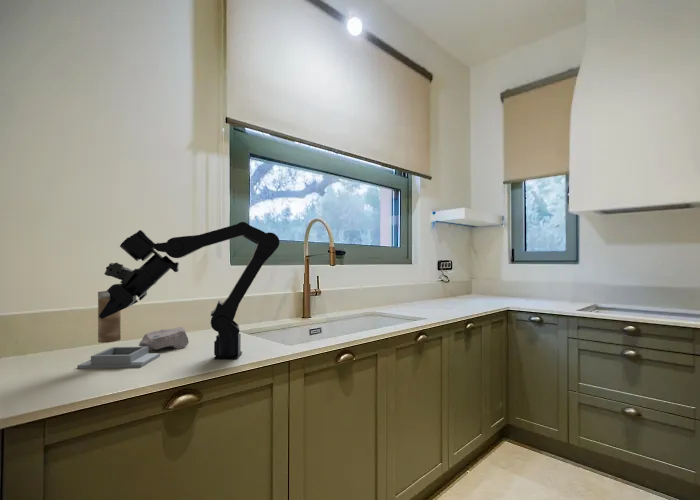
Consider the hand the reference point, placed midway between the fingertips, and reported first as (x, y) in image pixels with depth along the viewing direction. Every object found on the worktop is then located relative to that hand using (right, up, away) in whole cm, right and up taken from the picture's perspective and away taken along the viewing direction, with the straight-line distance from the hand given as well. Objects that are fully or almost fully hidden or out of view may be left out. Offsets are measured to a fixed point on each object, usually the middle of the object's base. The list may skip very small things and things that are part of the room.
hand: (103, 315), depth 98 cm
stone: (+6, -14, +19) cm, 25 cm away
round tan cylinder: (+1, -7, 0) cm, 7 cm away
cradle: (+2, -13, +4) cm, 14 cm away
